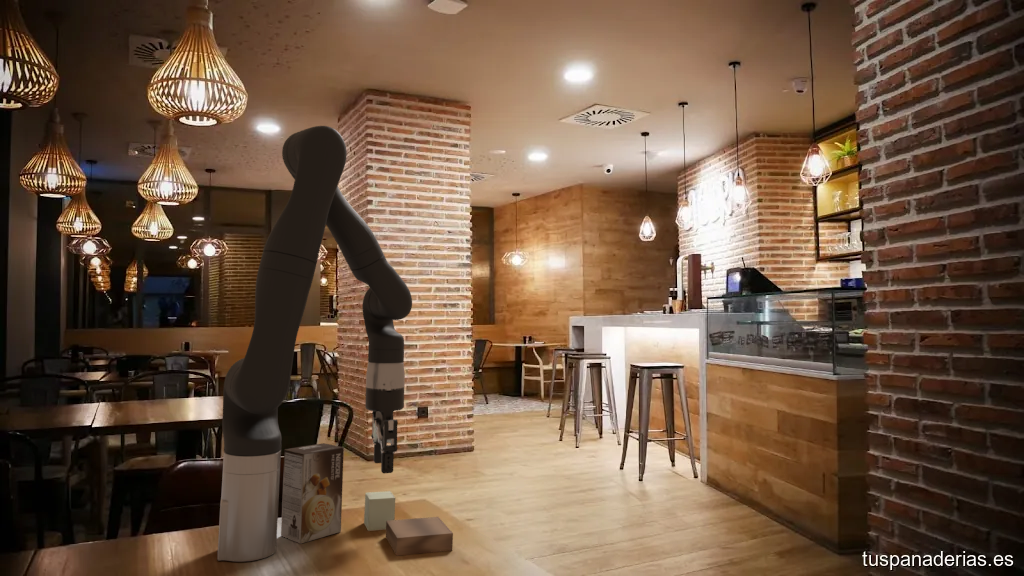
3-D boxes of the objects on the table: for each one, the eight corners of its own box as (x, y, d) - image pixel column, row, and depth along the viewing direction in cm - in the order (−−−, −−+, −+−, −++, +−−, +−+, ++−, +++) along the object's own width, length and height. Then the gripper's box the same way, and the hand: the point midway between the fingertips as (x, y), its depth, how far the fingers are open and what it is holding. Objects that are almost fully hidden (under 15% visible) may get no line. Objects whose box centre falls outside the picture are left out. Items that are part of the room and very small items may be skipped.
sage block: (368, 531, 128) (369, 499, 128) (364, 523, 133) (365, 492, 133) (394, 528, 130) (395, 497, 130) (389, 521, 134) (390, 491, 135)
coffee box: (320, 525, 130) (324, 442, 131) (341, 532, 126) (345, 447, 127) (279, 536, 123) (283, 448, 123) (300, 544, 119) (304, 453, 120)
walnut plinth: (396, 555, 115) (397, 537, 115) (385, 537, 125) (386, 520, 125) (452, 550, 119) (453, 533, 119) (437, 532, 128) (438, 516, 128)
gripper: (360, 381, 137) (358, 461, 137) (372, 389, 124) (369, 477, 124) (397, 380, 140) (394, 458, 140) (411, 388, 127) (409, 475, 126)
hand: (383, 467), depth 132 cm, fingers open, 8 cm apart
